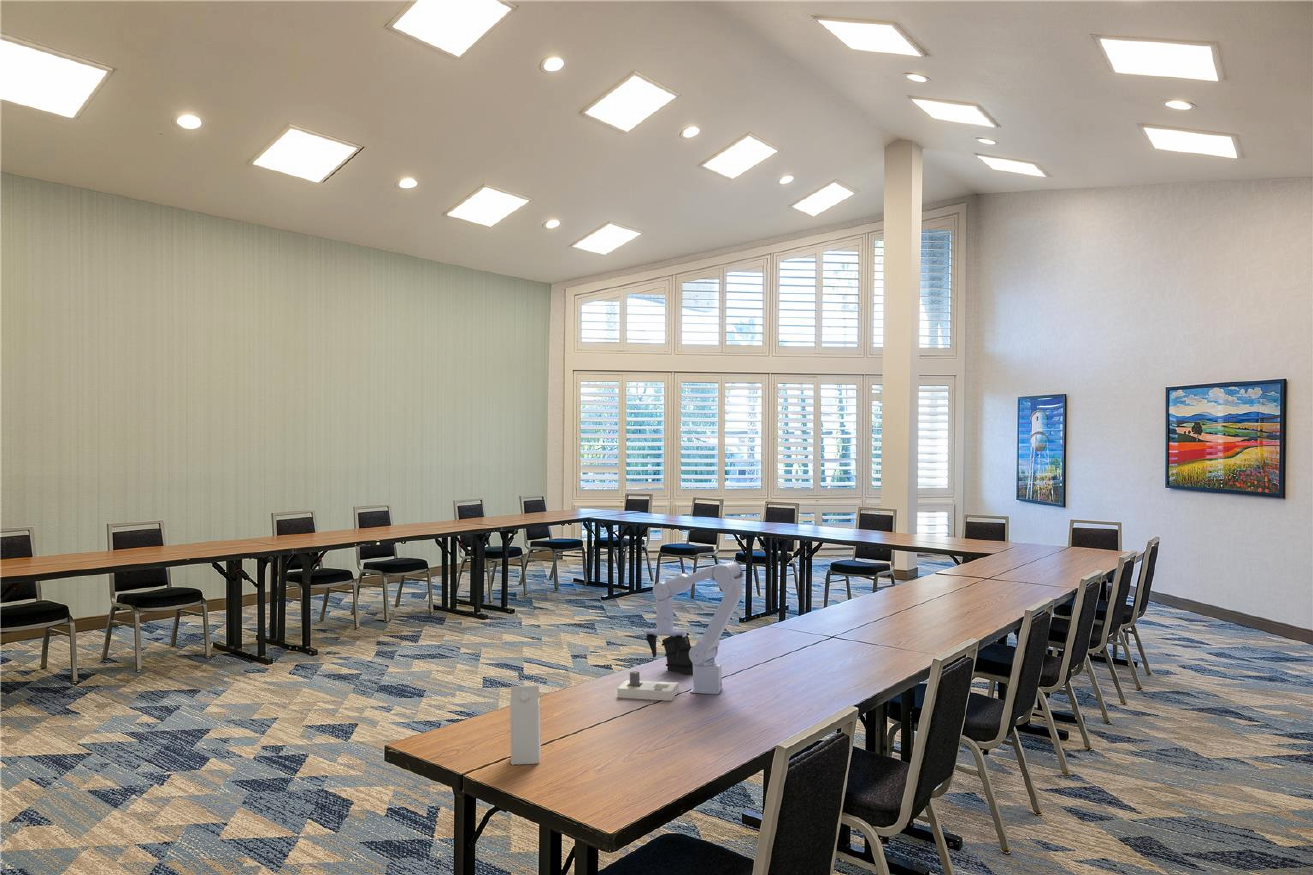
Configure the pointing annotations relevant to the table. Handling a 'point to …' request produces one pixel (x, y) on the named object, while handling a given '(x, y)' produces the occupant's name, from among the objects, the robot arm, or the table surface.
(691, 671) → the magazine
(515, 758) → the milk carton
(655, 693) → the socket box
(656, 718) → the table surface
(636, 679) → the plug
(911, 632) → the table surface
